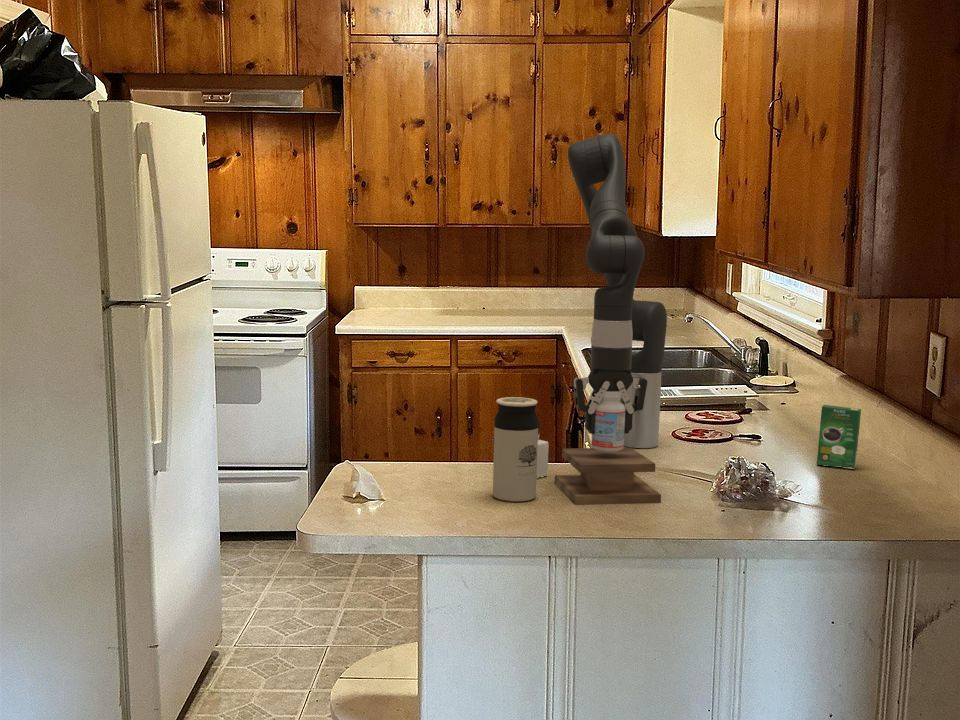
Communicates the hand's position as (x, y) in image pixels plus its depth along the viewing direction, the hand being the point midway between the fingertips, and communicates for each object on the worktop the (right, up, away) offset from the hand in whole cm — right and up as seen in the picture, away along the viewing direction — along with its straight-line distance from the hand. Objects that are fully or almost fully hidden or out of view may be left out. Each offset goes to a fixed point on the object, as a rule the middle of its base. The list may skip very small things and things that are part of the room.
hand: (608, 432), depth 194 cm
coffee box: (+52, -10, +27) cm, 60 cm away
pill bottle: (0, -3, 0) cm, 3 cm away
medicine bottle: (-15, -10, +13) cm, 22 cm away
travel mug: (-18, -12, -4) cm, 22 cm away
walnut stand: (0, -11, +1) cm, 11 cm away
